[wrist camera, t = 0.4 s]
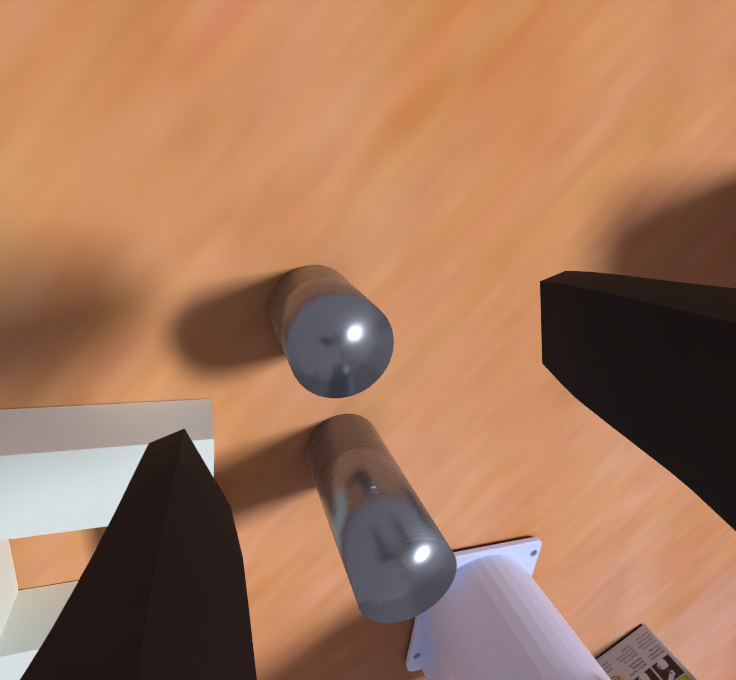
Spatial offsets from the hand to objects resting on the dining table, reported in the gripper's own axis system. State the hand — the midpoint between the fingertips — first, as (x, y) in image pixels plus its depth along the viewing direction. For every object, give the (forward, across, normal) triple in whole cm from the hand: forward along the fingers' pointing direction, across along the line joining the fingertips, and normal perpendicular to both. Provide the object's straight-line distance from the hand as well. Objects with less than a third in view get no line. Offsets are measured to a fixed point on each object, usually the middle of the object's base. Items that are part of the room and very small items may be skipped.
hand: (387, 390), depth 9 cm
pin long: (+10, 0, +10) cm, 14 cm away
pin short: (+11, 0, +3) cm, 11 cm away
